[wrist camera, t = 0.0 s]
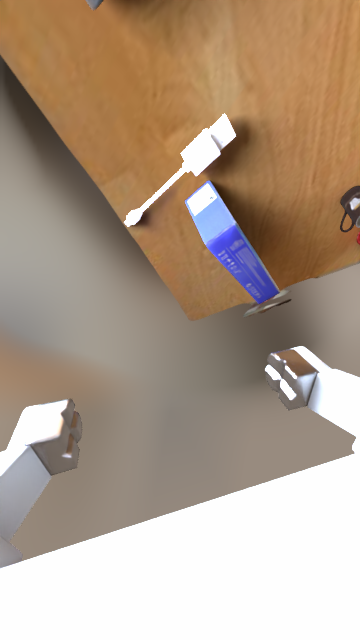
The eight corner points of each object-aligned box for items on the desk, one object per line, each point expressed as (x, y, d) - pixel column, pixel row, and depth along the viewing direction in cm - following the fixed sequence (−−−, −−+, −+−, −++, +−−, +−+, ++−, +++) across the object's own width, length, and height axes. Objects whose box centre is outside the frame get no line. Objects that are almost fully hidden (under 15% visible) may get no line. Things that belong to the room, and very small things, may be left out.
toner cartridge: (259, 255, 87) (281, 293, 78) (239, 267, 91) (258, 305, 82) (210, 177, 58) (236, 223, 49) (183, 200, 61) (203, 247, 52)
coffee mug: (365, 175, 69) (388, 194, 64) (367, 194, 75) (388, 212, 70) (325, 204, 74) (343, 224, 69) (330, 219, 80) (347, 238, 75)
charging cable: (118, 214, 61) (119, 222, 60) (222, 110, 46) (227, 117, 45) (132, 225, 65) (133, 233, 63) (233, 132, 50) (238, 139, 49)
